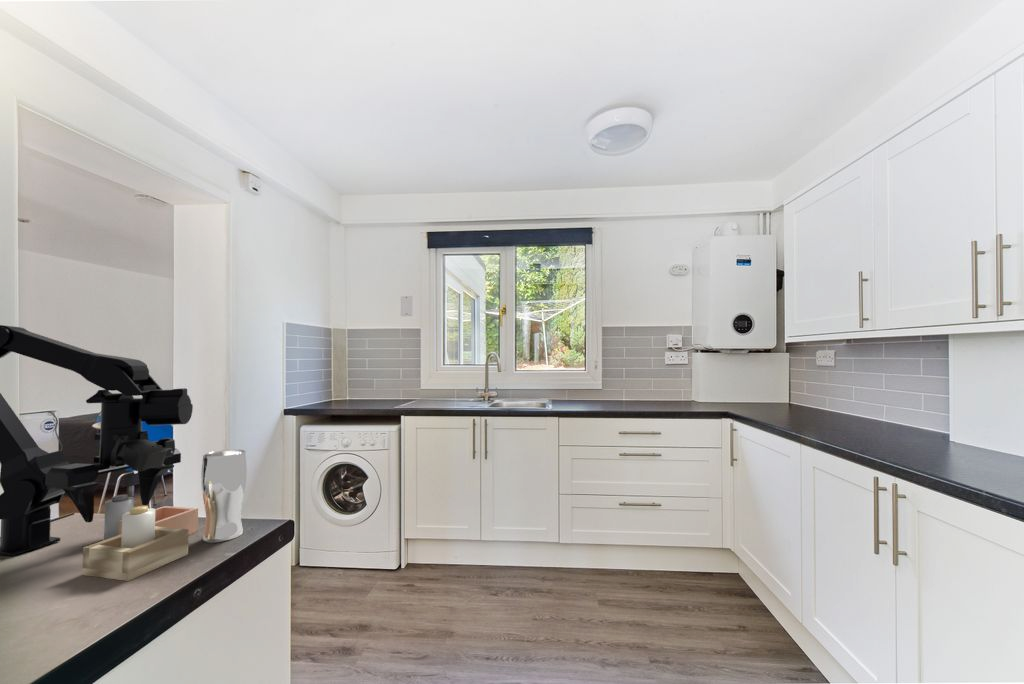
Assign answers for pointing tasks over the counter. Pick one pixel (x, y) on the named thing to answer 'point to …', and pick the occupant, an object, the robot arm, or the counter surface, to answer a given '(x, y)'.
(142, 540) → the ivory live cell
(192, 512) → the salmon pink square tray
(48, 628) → the counter surface
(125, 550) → the frame
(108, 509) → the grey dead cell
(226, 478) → the beer glass
